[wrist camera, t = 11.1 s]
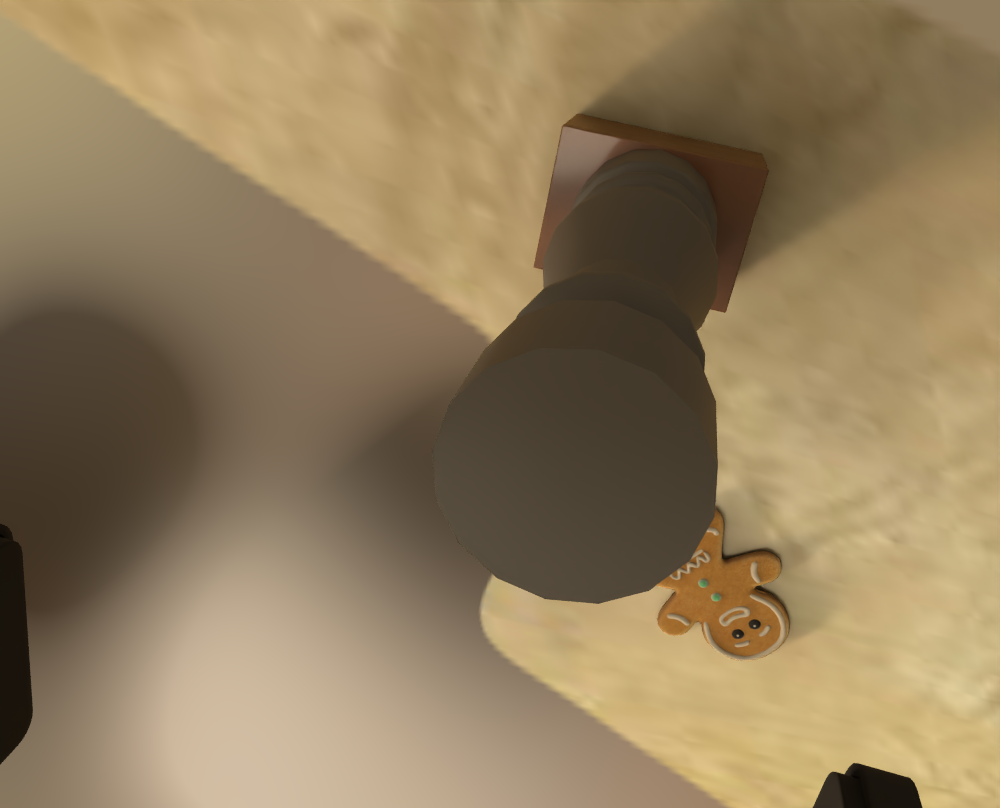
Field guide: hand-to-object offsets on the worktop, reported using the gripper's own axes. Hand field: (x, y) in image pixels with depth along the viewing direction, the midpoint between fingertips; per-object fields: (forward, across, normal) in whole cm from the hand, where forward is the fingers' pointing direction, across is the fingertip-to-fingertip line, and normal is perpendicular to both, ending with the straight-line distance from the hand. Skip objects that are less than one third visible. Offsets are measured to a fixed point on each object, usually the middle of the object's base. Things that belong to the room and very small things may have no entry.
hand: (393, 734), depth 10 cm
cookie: (+38, -10, +22) cm, 45 cm away
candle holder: (+33, -1, +1) cm, 33 cm away
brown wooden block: (+38, -1, +1) cm, 38 cm away
